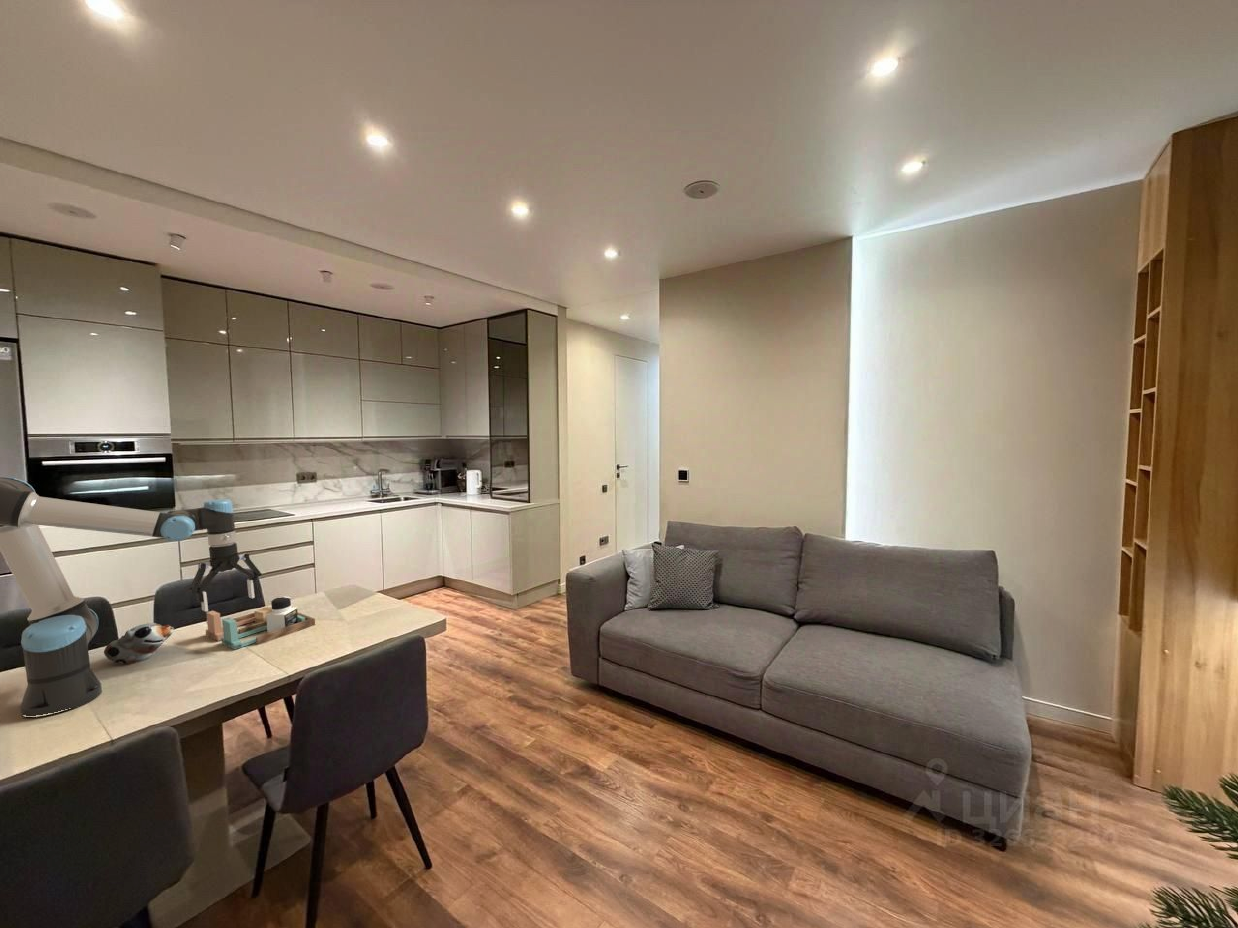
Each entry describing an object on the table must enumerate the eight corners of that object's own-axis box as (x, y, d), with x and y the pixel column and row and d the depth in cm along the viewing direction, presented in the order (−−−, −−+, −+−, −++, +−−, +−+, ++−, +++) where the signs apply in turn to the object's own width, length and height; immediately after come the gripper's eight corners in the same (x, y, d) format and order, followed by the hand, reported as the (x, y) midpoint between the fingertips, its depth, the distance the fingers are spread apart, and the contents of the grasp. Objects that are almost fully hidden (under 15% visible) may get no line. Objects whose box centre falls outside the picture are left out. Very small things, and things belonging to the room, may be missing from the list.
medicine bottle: (285, 632, 183) (283, 601, 181) (267, 632, 183) (264, 601, 182) (298, 624, 190) (296, 594, 189) (280, 625, 190) (278, 594, 189)
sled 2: (234, 649, 169) (232, 624, 168) (221, 642, 174) (219, 618, 173) (305, 624, 188) (303, 602, 187) (292, 619, 193) (290, 597, 193)
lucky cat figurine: (152, 644, 174) (170, 609, 174) (166, 664, 169) (185, 628, 169) (95, 650, 161) (116, 612, 161) (109, 672, 156) (130, 633, 156)
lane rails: (258, 644, 173) (257, 637, 172) (222, 628, 187) (222, 622, 187) (315, 624, 189) (314, 618, 189) (278, 611, 204) (278, 605, 203)
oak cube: (264, 624, 190) (263, 612, 190) (255, 623, 192) (254, 610, 191) (277, 620, 195) (276, 607, 194) (268, 618, 196) (267, 606, 196)
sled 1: (218, 640, 176) (215, 616, 175) (206, 634, 181) (203, 611, 180) (288, 618, 195) (286, 596, 194) (275, 613, 200) (273, 592, 200)
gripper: (180, 554, 156) (188, 618, 158) (268, 537, 178) (274, 593, 180) (171, 552, 160) (179, 614, 162) (258, 535, 182) (264, 590, 184)
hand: (229, 603), depth 171 cm, fingers open, 13 cm apart
